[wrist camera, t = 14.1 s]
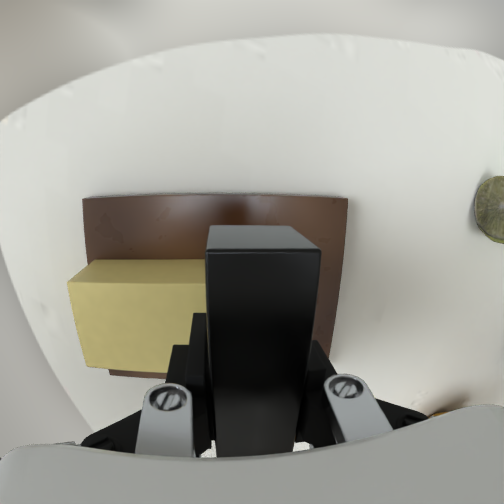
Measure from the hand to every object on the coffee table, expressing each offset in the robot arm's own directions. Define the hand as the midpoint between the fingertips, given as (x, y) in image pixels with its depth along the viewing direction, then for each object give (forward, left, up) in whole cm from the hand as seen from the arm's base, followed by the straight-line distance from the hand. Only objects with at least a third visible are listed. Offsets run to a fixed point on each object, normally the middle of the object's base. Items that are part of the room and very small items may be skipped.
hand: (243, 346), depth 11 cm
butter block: (-4, 0, -5) cm, 6 cm away
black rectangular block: (0, 0, -4) cm, 4 cm away
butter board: (-1, 0, -6) cm, 6 cm away
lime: (+19, +6, -6) cm, 21 cm away
